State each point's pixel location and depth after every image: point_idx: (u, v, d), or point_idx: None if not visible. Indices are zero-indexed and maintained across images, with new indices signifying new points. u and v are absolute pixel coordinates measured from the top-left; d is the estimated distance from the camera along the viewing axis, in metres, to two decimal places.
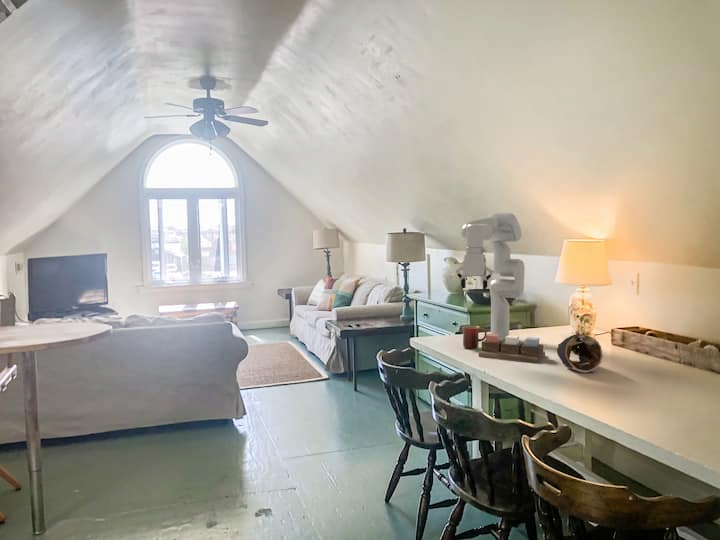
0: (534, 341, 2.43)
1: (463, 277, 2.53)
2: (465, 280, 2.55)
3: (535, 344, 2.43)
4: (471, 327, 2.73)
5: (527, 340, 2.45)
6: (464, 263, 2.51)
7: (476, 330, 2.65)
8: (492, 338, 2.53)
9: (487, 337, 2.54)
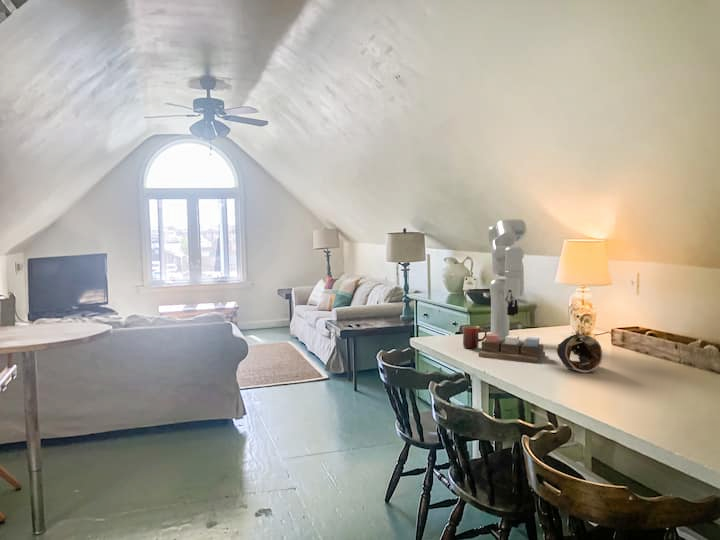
0: (534, 341, 2.43)
1: (514, 303, 2.46)
2: None
3: (535, 344, 2.43)
4: (471, 327, 2.73)
5: (527, 340, 2.45)
6: (515, 287, 2.44)
7: (476, 330, 2.65)
8: (492, 338, 2.53)
9: (487, 337, 2.54)
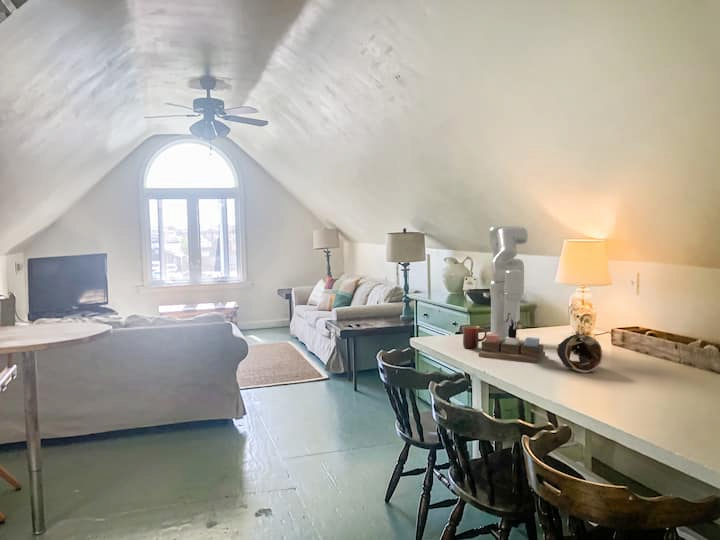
0: (534, 341, 2.43)
1: (514, 325, 2.48)
2: None
3: (535, 344, 2.43)
4: (471, 327, 2.73)
5: (527, 340, 2.45)
6: (514, 310, 2.45)
7: (476, 330, 2.65)
8: (492, 338, 2.53)
9: (487, 337, 2.54)
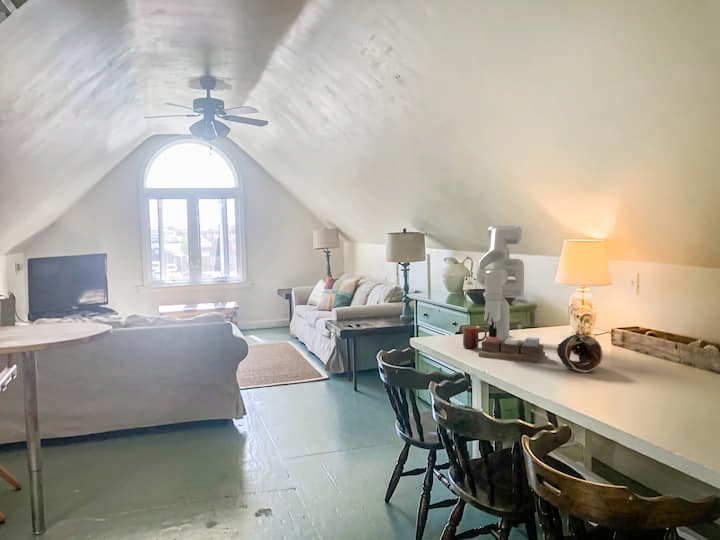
0: (534, 341, 2.43)
1: (495, 325, 2.53)
2: None
3: (535, 344, 2.43)
4: (471, 327, 2.73)
5: (527, 340, 2.45)
6: (494, 310, 2.50)
7: (476, 330, 2.65)
8: (492, 339, 2.53)
9: (487, 339, 2.54)
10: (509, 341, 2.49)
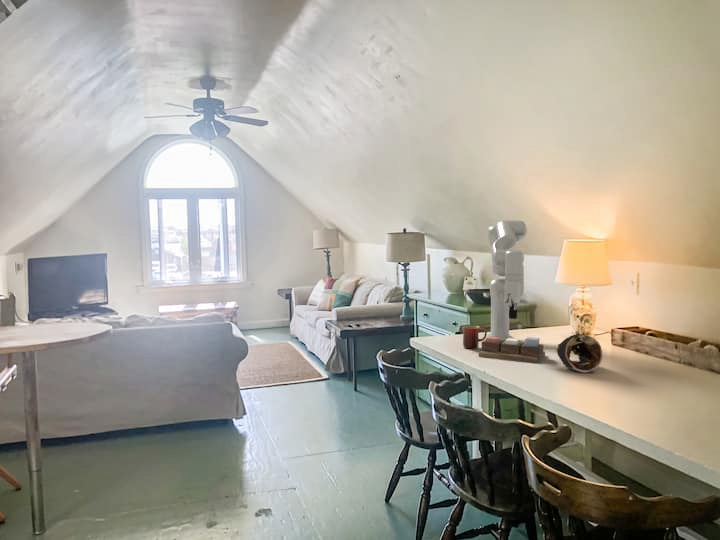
0: (534, 341, 2.43)
1: (515, 306, 2.48)
2: None
3: (535, 344, 2.43)
4: (471, 327, 2.73)
5: (527, 340, 2.45)
6: (515, 291, 2.44)
7: (476, 330, 2.65)
8: (492, 341, 2.53)
9: (487, 340, 2.54)
10: (509, 341, 2.49)
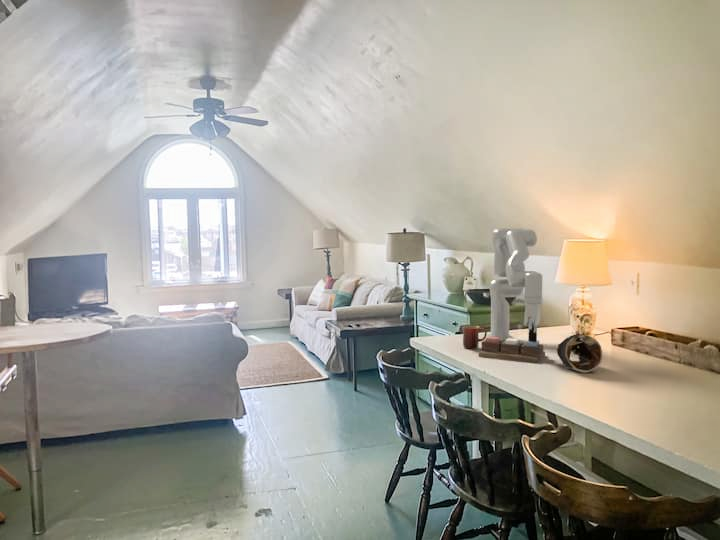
0: (534, 344, 2.43)
1: (535, 329, 2.44)
2: None
3: None
4: (471, 327, 2.73)
5: (527, 343, 2.45)
6: (535, 314, 2.40)
7: (476, 330, 2.65)
8: (492, 341, 2.53)
9: (487, 340, 2.54)
10: (509, 341, 2.49)
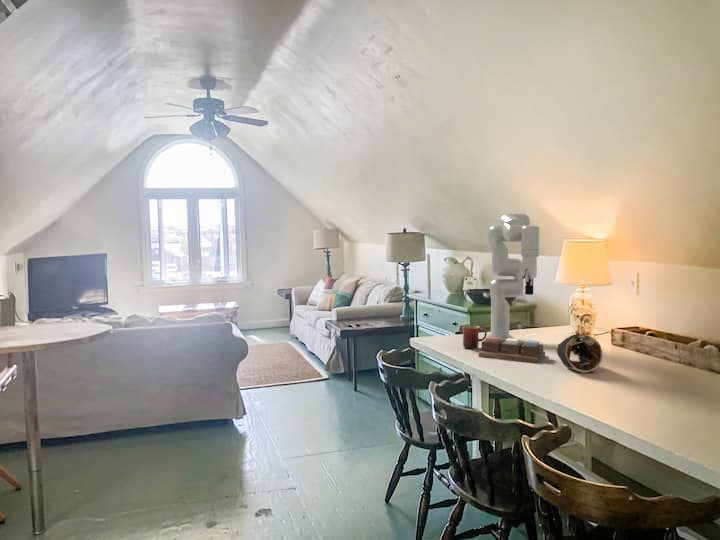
0: (534, 344, 2.43)
1: (531, 282, 2.45)
2: None
3: None
4: (471, 327, 2.73)
5: (527, 343, 2.45)
6: (532, 266, 2.41)
7: (476, 330, 2.65)
8: (492, 341, 2.53)
9: (487, 340, 2.54)
10: (509, 341, 2.49)
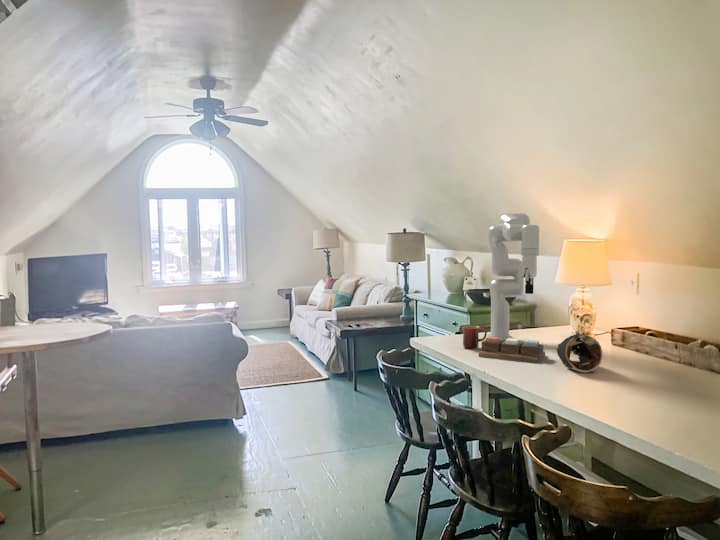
0: (534, 344, 2.43)
1: (532, 281, 2.44)
2: None
3: None
4: (471, 327, 2.73)
5: (527, 343, 2.45)
6: (532, 265, 2.41)
7: (476, 330, 2.65)
8: (492, 341, 2.53)
9: (487, 340, 2.54)
10: (509, 341, 2.49)
